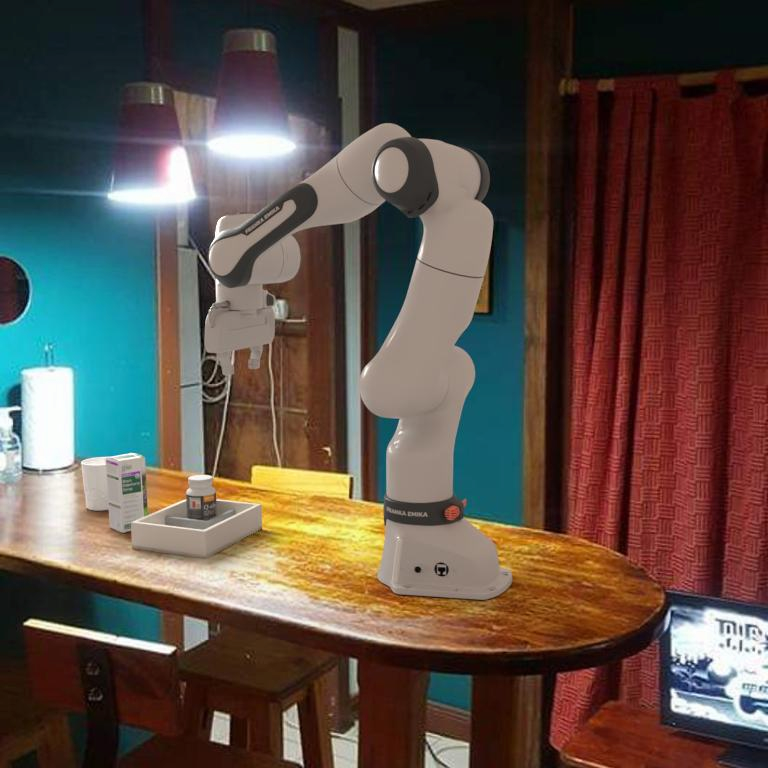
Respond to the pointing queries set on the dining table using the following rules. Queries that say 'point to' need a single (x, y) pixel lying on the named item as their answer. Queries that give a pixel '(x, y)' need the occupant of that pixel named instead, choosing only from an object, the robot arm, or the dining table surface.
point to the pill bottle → (201, 498)
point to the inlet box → (196, 529)
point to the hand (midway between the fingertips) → (241, 371)
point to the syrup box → (126, 490)
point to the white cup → (95, 483)
